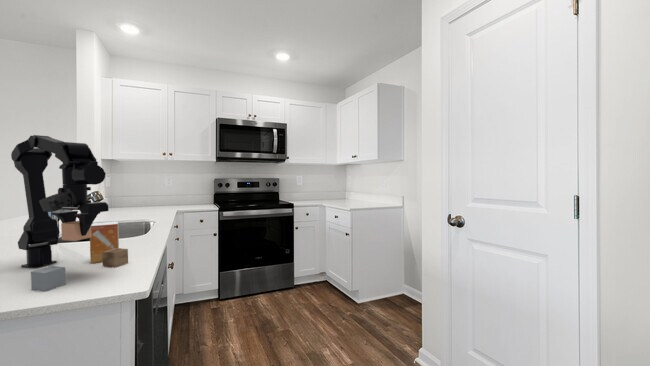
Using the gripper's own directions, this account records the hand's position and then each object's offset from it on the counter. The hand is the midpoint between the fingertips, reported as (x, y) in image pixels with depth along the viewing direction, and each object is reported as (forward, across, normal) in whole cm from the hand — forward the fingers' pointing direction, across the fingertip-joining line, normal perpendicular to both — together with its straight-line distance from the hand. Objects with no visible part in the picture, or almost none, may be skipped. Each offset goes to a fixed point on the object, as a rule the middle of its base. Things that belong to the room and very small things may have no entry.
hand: (76, 235), depth 92 cm
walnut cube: (+12, +3, +10) cm, 16 cm away
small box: (+12, -6, +14) cm, 20 cm away
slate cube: (+12, +3, -10) cm, 16 cm away
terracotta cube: (+1, 0, 0) cm, 1 cm away
